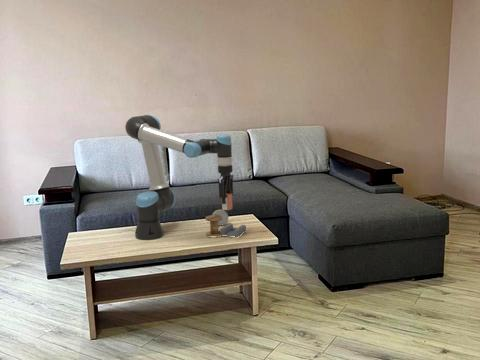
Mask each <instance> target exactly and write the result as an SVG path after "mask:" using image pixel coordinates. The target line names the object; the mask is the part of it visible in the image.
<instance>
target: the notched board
mask: <svg viewBox="0 0 480 360" xmlns="http://www.w3.org/2000/svg"><path fill="white" fill-rule="evenodd" d="M220 231H221V234H222V235H227V236H235V237H238V236H240V235H241V234H242V233H243V232H245V231H246V232H247V225H246V224H241V225H240V226H238V227H235V226H234V224H233V223H227V225H226V224H225V226H223V227H222V228H220ZM240 237H241V236H240Z"/></svg>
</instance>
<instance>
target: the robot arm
mask: <svg viewBox="0 0 480 360" xmlns="http://www.w3.org/2000/svg"><path fill="white" fill-rule="evenodd" d="M161 127H162V126H161V123H160V121H159V119H158V118H157V117H156V116H154V115H151V114H144V115H137V116H132V117H129V119H128V120H127V121H126V122H125V126H124V128H125V133H126V134H127V135H128V136H129V137H130V138H132V139H133V140H137V141H138V143H140V144H141V147H142V151H143V157H144V161H145V165H146V170H147V175H148V179H149V184H150V187H149V189H148V191H144V192H140V193H139V194H137V196H136V203H135V204H136V205H135V206H136V217H137V224H136V227H135V232H134V233H135V236H134V237H135V239H139V240H143V241H144V240H146V241H147V240H157V239H160V238H162V237H163V236H164V230H163V226H162V224H161V221H160V214H161V213H162V212H165V211H168V210H170V209H171V208H173V207H174V205H175V204H176V201H177V200H176V194H175V192H174V190H172V189H171V188H170V185H169V184H168V183H167V181H166V177H165V173H164V166H163V164H162V159H161V158H162V157H161V153H160V149H159V146H162V147H164V148H166V149H169V150H170V149H171V150H173V151H176V152H179V153H182V154H185V156H186V157H187V158H190V159H191V158H194V159H195V158H198V157H200V156H204V155H207V154H216V155H217V165H218V166H217V171H218V172H217V173H219V174H220V177H219V178H217V183H218V195H219V198H220V199H221V210H224V211H229V210H228V208H227V198H226V193H228V194H232V196H233V195H234V175H233V174H231V173H233V171H234V170H233V155H232V153H233V152H232V138H231V135H229V134H218V135H216V138H198V139H196V140H192V139H189V138H186V137H183V136H179V135H177V134H174V133H171V132H168V131H164V130H162V129H161Z"/></svg>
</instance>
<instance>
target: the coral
mask: <svg viewBox="0 0 480 360" xmlns="http://www.w3.org/2000/svg"><path fill="white" fill-rule="evenodd" d="M211 215H220V216H222V220H220V221H218V225H222V224H224V225H226V224H227V222H228V221H229V215H228V212H227V211H226V210H222V208H221V209H217V210H214V211H213V212H212V214H211ZM222 226H223V225H222Z"/></svg>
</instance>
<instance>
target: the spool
mask: <svg viewBox="0 0 480 360" xmlns="http://www.w3.org/2000/svg"><path fill="white" fill-rule="evenodd" d="M220 220H222V216H220V215H212V214H211V215H207V216H205V221H208V222H209V225H210V228H209V229H210V230H209V231H207V232H206V233H205V235H207V236H220V235H222V234H221V230H219V226H218V221H220ZM207 236H206V237H207Z"/></svg>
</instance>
